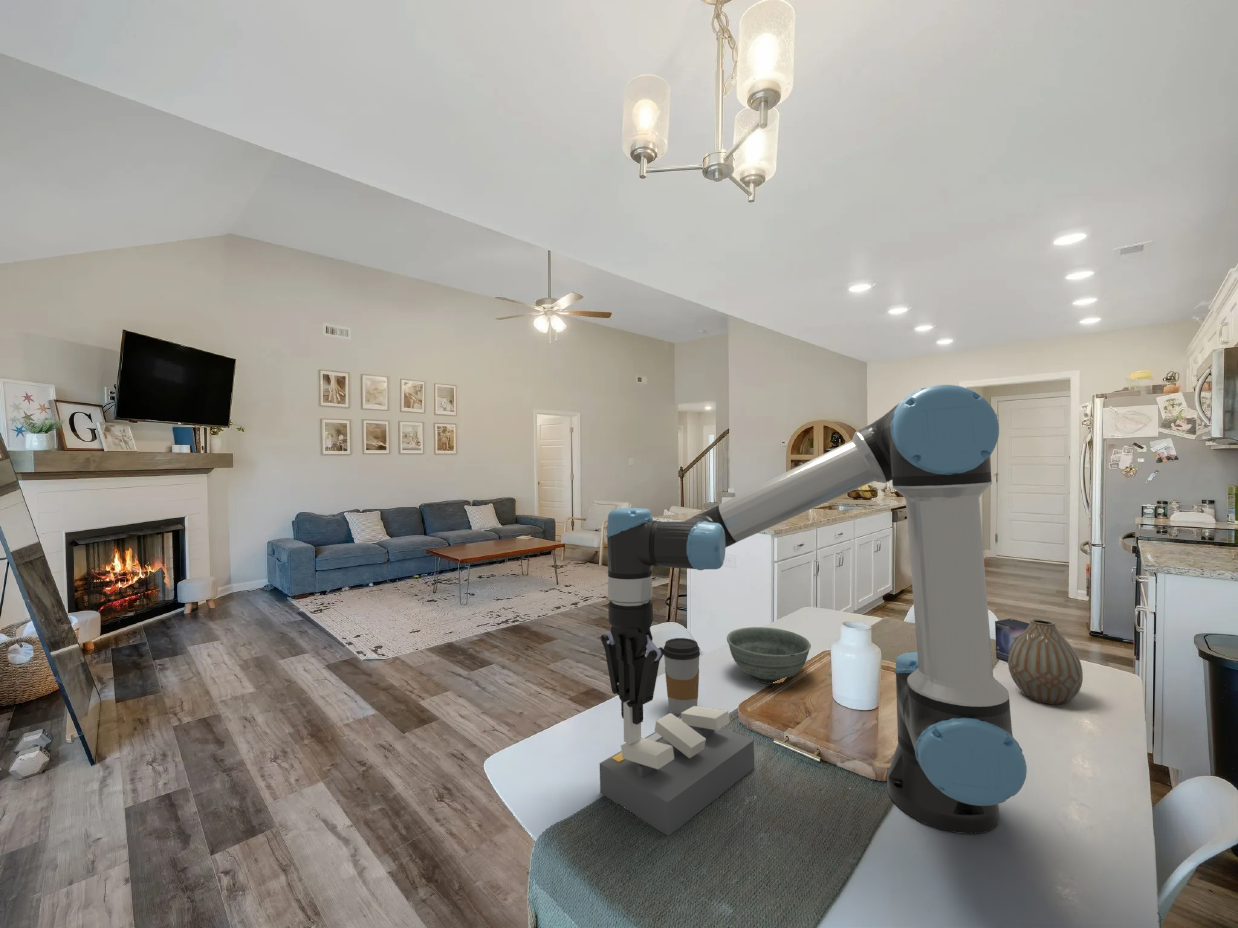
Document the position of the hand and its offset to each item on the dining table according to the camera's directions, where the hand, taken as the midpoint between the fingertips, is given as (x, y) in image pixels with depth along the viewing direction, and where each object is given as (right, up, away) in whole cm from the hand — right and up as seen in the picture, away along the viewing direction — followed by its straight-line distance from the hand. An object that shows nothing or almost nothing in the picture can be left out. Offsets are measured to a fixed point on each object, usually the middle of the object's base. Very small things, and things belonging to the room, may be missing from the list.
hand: (632, 739), depth 87 cm
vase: (+95, -7, +31) cm, 100 cm away
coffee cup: (+12, -9, +29) cm, 33 cm away
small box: (+106, -7, +51) cm, 118 cm away
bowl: (+36, -9, +46) cm, 59 cm away
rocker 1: (+2, -2, -2) cm, 4 cm away
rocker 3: (+14, -2, +9) cm, 17 cm away
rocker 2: (+8, -2, +3) cm, 9 cm away
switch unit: (+8, -9, +3) cm, 12 cm away
